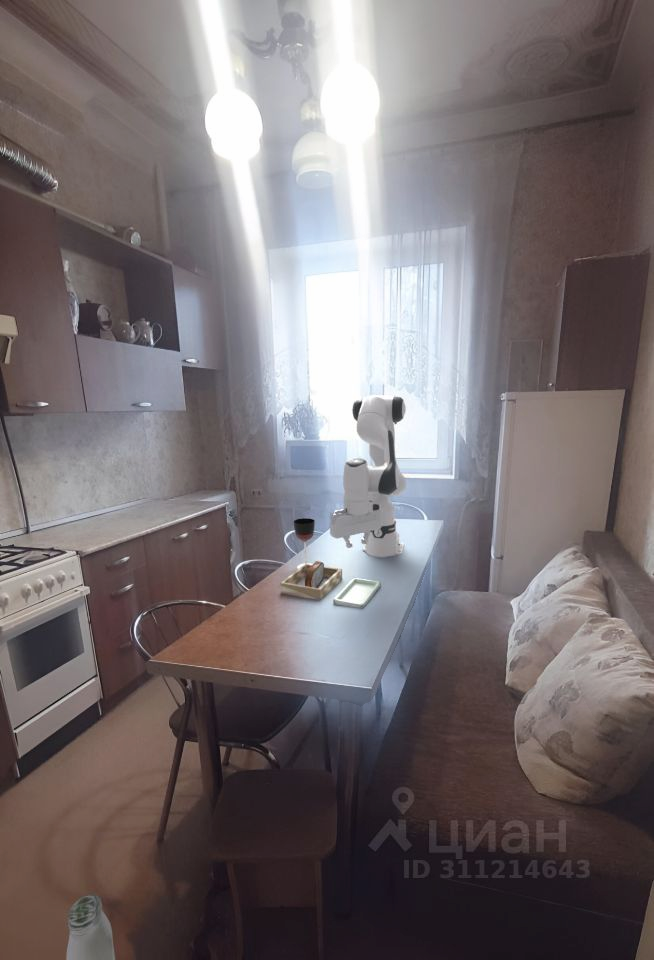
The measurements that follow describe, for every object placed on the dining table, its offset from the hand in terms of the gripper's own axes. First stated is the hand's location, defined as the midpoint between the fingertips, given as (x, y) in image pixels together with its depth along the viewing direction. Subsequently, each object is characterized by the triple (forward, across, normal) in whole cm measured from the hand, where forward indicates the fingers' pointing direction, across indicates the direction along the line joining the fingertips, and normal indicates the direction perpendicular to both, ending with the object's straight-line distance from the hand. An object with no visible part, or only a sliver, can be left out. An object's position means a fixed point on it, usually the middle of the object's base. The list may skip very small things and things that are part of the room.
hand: (356, 545), depth 151 cm
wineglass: (+19, -1, +35) cm, 40 cm away
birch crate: (+19, -8, +17) cm, 27 cm away
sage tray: (+19, 0, 0) cm, 19 cm away
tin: (+19, -8, +16) cm, 26 cm away
